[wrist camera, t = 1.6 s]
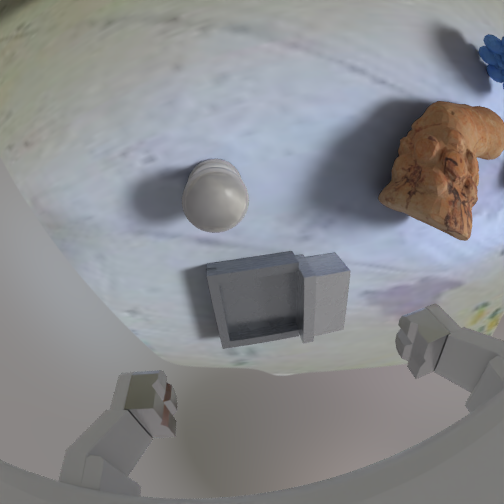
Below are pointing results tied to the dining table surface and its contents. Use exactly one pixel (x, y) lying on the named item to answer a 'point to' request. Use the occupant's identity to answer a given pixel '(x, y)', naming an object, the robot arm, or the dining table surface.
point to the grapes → (493, 57)
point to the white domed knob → (215, 196)
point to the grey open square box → (278, 297)
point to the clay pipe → (444, 165)
